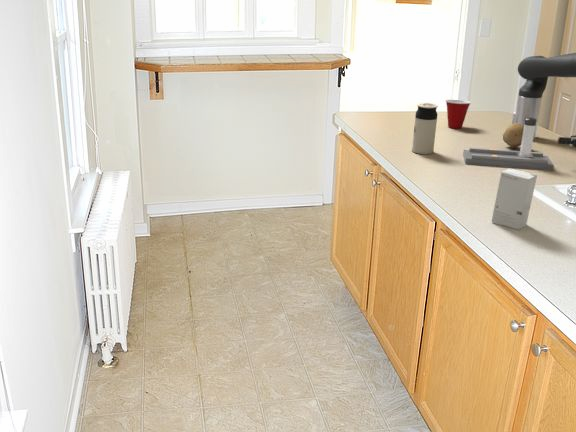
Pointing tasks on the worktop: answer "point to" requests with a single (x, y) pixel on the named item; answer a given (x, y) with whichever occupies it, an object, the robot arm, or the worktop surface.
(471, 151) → the slider board
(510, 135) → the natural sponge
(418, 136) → the travel mug
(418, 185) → the worktop surface
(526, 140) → the fader lever
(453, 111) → the plastic cup
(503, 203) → the skincare box
